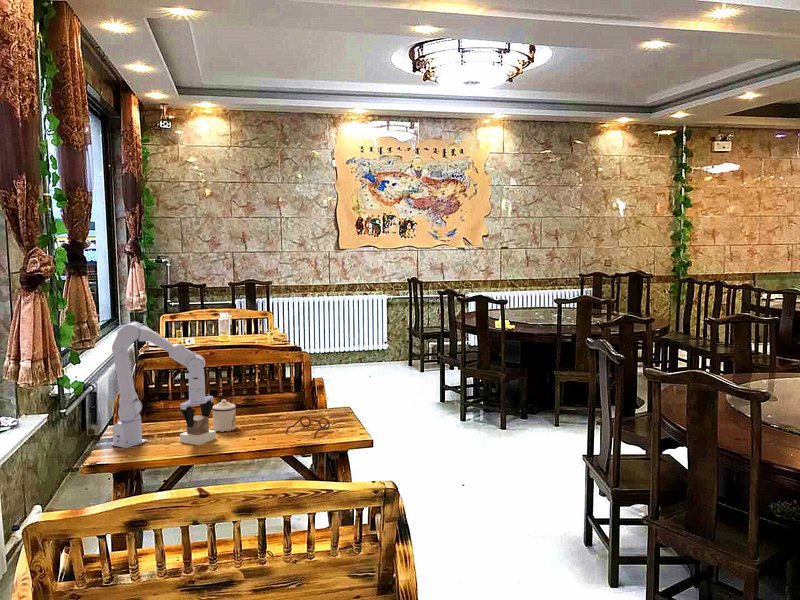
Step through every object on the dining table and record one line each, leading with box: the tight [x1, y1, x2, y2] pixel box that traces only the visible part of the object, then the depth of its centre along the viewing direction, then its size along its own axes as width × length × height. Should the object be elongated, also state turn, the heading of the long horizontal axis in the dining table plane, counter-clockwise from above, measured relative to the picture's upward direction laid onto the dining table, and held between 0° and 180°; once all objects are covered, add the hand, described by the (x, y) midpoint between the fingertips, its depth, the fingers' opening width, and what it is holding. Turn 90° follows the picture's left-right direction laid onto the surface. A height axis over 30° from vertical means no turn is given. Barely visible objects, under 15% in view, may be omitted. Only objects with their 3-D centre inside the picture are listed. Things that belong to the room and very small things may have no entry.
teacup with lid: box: [211, 399, 237, 433], centre depth 260 cm, size 12×9×12 cm
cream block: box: [179, 429, 217, 446], centre depth 244 cm, size 9×9×4 cm
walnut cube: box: [186, 414, 210, 435], centre depth 244 cm, size 6×6×6 cm
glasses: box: [284, 415, 331, 439], centre depth 255 cm, size 13×13×5 cm
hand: (197, 424), depth 244 cm, fingers open, 7 cm apart
